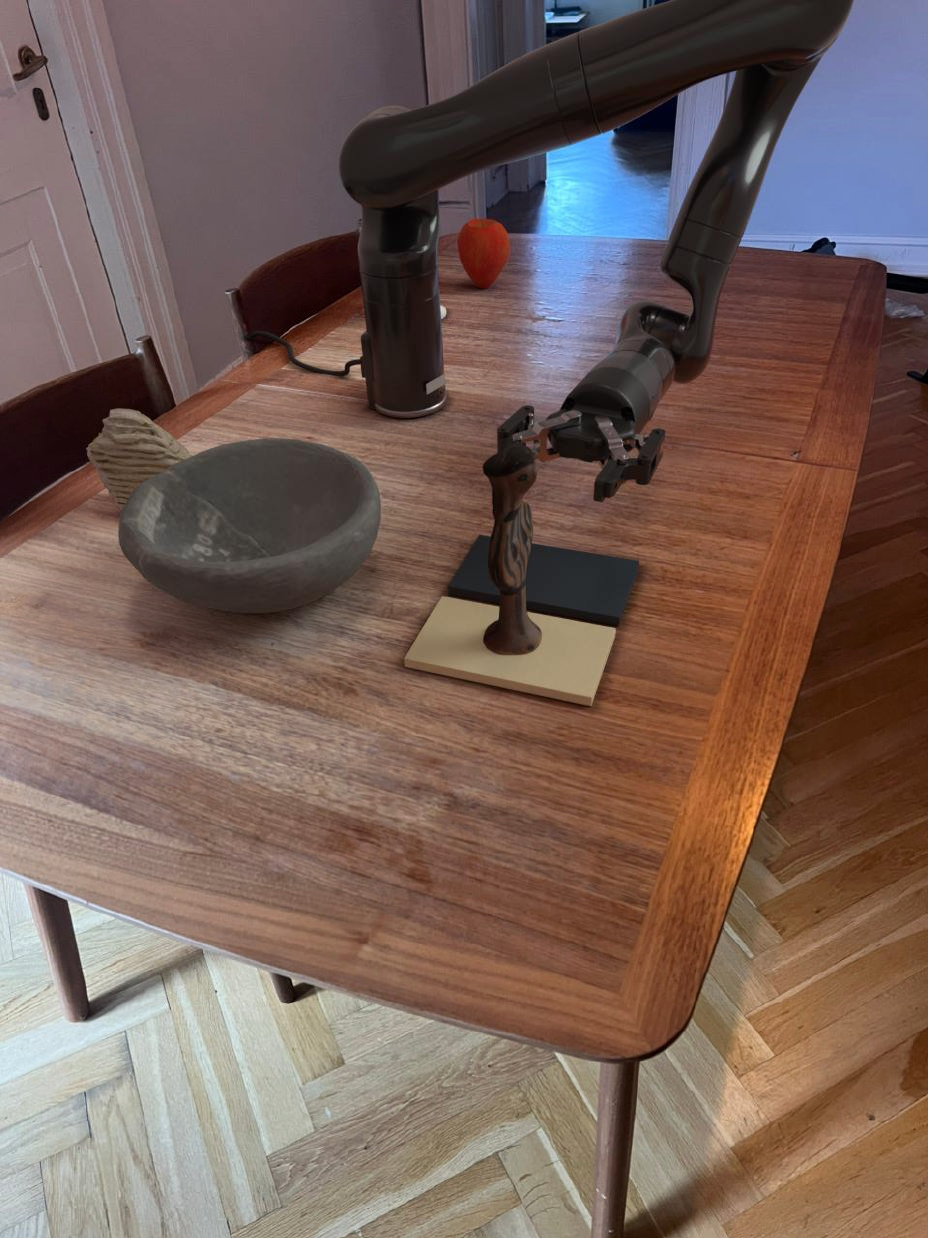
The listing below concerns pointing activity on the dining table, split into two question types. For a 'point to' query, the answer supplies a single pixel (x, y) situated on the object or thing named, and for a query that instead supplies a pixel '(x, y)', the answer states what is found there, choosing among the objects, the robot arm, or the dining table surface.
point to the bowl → (253, 525)
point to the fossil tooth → (132, 452)
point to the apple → (483, 250)
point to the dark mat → (555, 581)
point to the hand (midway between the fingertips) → (549, 481)
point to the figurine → (511, 550)
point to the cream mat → (551, 670)
